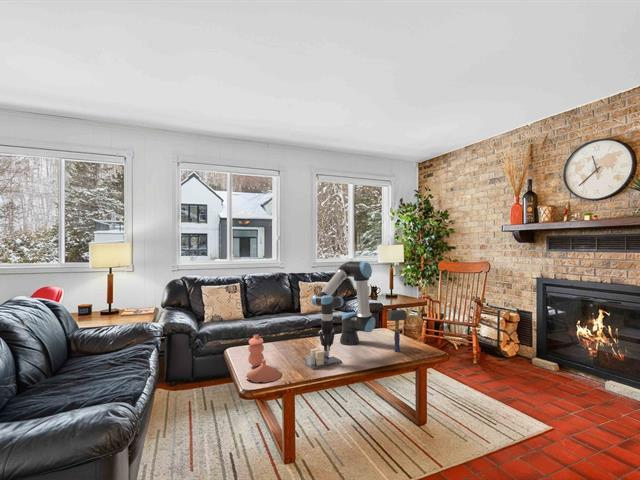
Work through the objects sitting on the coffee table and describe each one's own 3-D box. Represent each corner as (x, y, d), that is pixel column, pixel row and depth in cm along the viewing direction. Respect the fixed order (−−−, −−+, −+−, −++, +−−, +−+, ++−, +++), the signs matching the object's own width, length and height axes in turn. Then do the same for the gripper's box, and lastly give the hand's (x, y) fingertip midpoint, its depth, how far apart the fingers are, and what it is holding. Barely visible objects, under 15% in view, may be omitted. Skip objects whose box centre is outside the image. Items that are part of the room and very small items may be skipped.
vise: (305, 364, 222) (305, 353, 222) (333, 358, 234) (333, 348, 234) (313, 369, 214) (313, 358, 214) (342, 362, 225) (342, 352, 225)
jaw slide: (320, 360, 225) (320, 351, 225) (324, 359, 227) (323, 351, 227) (326, 363, 219) (326, 355, 219) (330, 363, 220) (330, 354, 220)
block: (310, 361, 223) (310, 349, 223) (317, 360, 226) (317, 348, 226) (317, 365, 216) (317, 352, 217) (323, 364, 219) (323, 351, 219)
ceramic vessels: (286, 378, 200) (286, 346, 200) (250, 385, 191) (250, 350, 191) (269, 359, 232) (269, 331, 232) (238, 364, 223) (238, 335, 223)
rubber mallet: (402, 349, 252) (402, 308, 253) (407, 353, 245) (407, 310, 245) (386, 351, 249) (386, 309, 250) (391, 354, 242) (391, 311, 242)
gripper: (321, 322, 219) (321, 359, 219) (338, 319, 226) (338, 356, 225) (315, 319, 225) (315, 356, 225) (332, 317, 232) (332, 352, 232)
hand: (327, 356), depth 225 cm, fingers closed
